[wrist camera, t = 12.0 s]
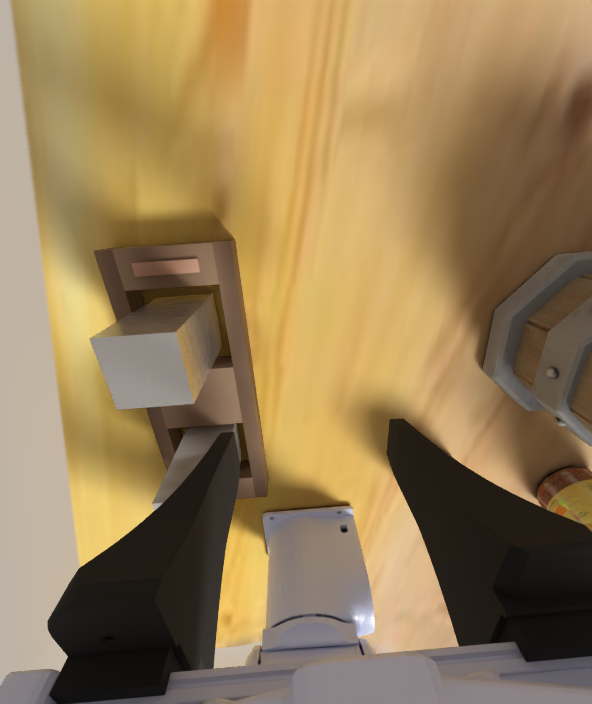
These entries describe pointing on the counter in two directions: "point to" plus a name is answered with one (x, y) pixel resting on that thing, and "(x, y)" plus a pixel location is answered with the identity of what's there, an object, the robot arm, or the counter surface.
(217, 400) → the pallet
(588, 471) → the sauce bottle
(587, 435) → the tankard
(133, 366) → the block
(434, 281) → the counter surface
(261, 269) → the counter surface
